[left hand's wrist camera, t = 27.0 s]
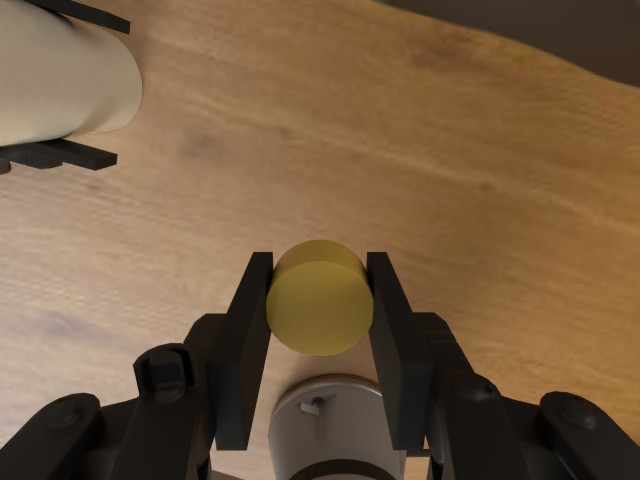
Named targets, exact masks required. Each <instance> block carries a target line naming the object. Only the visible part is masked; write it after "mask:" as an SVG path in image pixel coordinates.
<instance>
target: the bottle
mask: <svg viewBox="0 0 640 480" xmlns="http://www.w3.org/2000/svg"><path fill="white" fill-rule="evenodd" d="M141 99H142V79H141V74H140V71H139V68H138V66H137V63H136V61H135V59H134V57H133V56H132V54H131V52H130V51H129V50H128V48H127V47H126V46H125V45H124V44H123V43H122V42H121V41H120V40H119V39H118V38H117V37H116V36H114V35H113V34H112V33H110V32H109V31H107V30H105V29H103V28H101V27H98V26H96V25H93V24H90V23H87V22H84V21H81V20H79V19H76V18H73V17H70V16H67V15H64V14H61V13H59V12H55V11H53V10H50V9H47V8H44V7H41V6H38V5H35V4H32V3H30V2H27V1H24V0H0V147H2V146H10V145H17V144H24V143H32V142H39V141H46V140H53V139H61V138H68V137H75V136H83V135H90V134H97V133H105V132H111V131H115V130H118V129H120V128H122V127H124V126H125V125H126V124H128V123H129V122H130V121H131V120H132V119H133V117H134V116H135V115H136V113H137V111H138V109H139V106H140V104H141Z"/></svg>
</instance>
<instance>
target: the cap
mask: <svg viewBox="0 0 640 480" xmlns="http://www.w3.org/2000/svg"><path fill="white" fill-rule="evenodd" d="M373 305H374V298H373V295H372V291H371V287H370V284H369V280H368V276H367V273H366V269H365V267H364V265H363V263H362V261H361V260H360V259H359V257H358V256H357V255H356V254H355V253H354V252H353V251H352V250H350V249H349V248H347V247H346V246H344V245H342V244H339V243H337V242H333V241H329V240H312V241H307V242H303V243H301V244H298V245H296V246H294V247H292V248H291V249H290V250H288V251H287V252H286V253H285V254H284V255H283V256H282V257H281V258H280V260H279V261H278V263H277V264H276V266H275V269H274V271H273V275H272V279H271V282H270V286H269V290H268V293H267V297H266V309H267V322H268V325H269V327H270V329H271V331H272V332H273V334H274V335H275V336H276V338H277V339H278V340H279V341H280V342H281V343H283V344H284V345H285V346H287V347H288V348H290V349H292V350H294V351H296V352H299V353H302V354H306V355H310V356H329V355H334V354H338V353H341V352H344V351H346V350H348V349H350V348H351V347H353V346H354V345H356V344H357V343H358V342H359V341H361V339H362V338H363V337H364V336H365V335H366V333H367V332H368V330H369V329H370V327H371V325H372V321H373Z"/></svg>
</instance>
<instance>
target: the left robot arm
mask: <svg viewBox="0 0 640 480" xmlns="http://www.w3.org/2000/svg"><path fill="white" fill-rule="evenodd" d="M273 271H274V269H273V252H253V254H252V257H251V259H250V261H249V263H248V266H247V268H246V270H245V273H244V275H243V277H242V279H241V282H240V284H239V286H238V288H237V291H236V293H235V295H234V298H233V300H232V302H231V304H230V307H229V309H228V311H227V314H205V315H203V316H202V317H201V318H200V319H198V320H197V321H196V322H194V324H193V326H192V328H191V329H190V331H189V333H188V335H187V336H186V338H185V340H184V342H183V344H182V343H168V344H164V345H159V346H157V347H154V348H152V349H150V350H147V351H146V352H145V353H143V354H142V355H141V356H139V357H138V358H137V360H136V361H135V363H134V364H133V368H134V372H135V377H136V381H137V386H138V390H139V397H137V398H134V399H131V400H128V401H124V402H120V403H116V404H112V405H108V406H103V407H101V405H100V401H99V399H98V398H97V397H96V396H95V395H92V394H88V393H77V394H71V395H68V396H65V397H62V398H59V399H57V400H55V401H53V402H51V403H49V404H47V405H46V406H44V407H43V408H42V409H41V410H39V411H38V412H37V413H36V414H35V415H34V416H33V417H32V418H31V419H30V420H29V421H28V422H27V423H26V424H25V425H24V426H23V427H22V428H21V429H20V430H19V431H18V432H17V433H16V434H15V435H14V436H13V437H12V438H11V439H10V440H9V441H8V442H7V443H6V444H5V445H4V446H3V447H2V448H1V449H0V480H243V479H240V478H237V477H234V476H230V475H227V474H224V473H221V472H218V471H214V470H211V460H210V453H209V452H210V449H211V446H212V443H213V440H214V436H215V441H216V449H217V450H247V446H248V441H249V436H250V432H251V427H252V422H253V417H254V413H255V408H256V403H257V398H258V393H259V389H260V384H261V379H262V374H263V370H264V365H265V360H266V355H267V350H268V346H269V341H270V336H271V329H270V327H269V325H268V322H267V309H266V297H267V293H268V290H269V286H270V282H271V279H272V275H273ZM366 273H367V276H368V280H369V284H370V287H371V291H372V295H373V298H374V305H373V321H372V325H371V327H370V329H369V330H368V332H369V337H370V342H371V347H372V352H373V356H374V361H375V366H376V371H377V375H378V380H379V385H378V384H377V383H375V382H373V381H370V380H368V379H365V378H362V377H358V376H353V375H344V374H334V375H324V376H319V377H315V378H312V379H309V380H307V381H304V382H302V383H300V384H298V385H296V386H295V387H293V388H292V389H290V390H289V391H288V392H287V393H286V394H285V395H284V396H283V397H282V398H281V399H280V400H279V402H278V403H277V405H276V406H275V408H274V410H273V413H272V416H271V421H270V428H269V436H268V438H269V449H270V453H271V458H272V463H273V468H274V472H275V477H276V480H404V471H405V462H406V457H430V460H429V467H428V473H427V480H640V447H639V446H638V445H637V444H636V443H635V442H634V441H633V440H632V439H631V438H630V437H629V436H628V435H627V434H626V433H625V432H624V431H623V430H622V429H621V428H620V427H619V426H618V425H617V424H616V423H615V422H614V421H613V420H612V419H611V418H610V417H609V416H608V415H607V414H606V413H605V412H604V411H603V410H602V409H600V408H599V407H598V406H597V405H595V404H594V403H592V402H590V401H588V400H586V399H585V398H583V397H580V396H577V395H574V394H571V393H568V392H558V391H554V392H550V393H546V394H545V395H544V396H543V397H542V398H541V400H540V404H539V405H534V404H530V403H526V402H522V401H517V400H513V399H510V398H507V397H504V396H502V395H501V394H500V392H499V391H498V389H497V387H496V386H495V385H494V384H493V383H492V382H490V381H489V380H488V379H487V378H485V377H483V376H481V375H479V374H477V373H475V372H474V370H473V369H472V367H471V365H470V363H469V362H468V360H467V358H466V356H465V355H464V353H463V351H462V349H461V348H460V346H459V344H458V343H457V342H456V339H455V337H454V335H453V334H452V332H451V330H450V328H449V327H448V325H447V323H446V321H444V320H443V319H442V318H441V317H439V316H438V315H437V314H435V313H434V312H412V310H411V307H410V305H409V303H408V300H407V298H406V296H405V294H404V291H403V289H402V287H401V284H400V282H399V280H398V278H397V275H396V273H395V271H394V269H393V266H392V264H391V262H390V259H389V257H388V255H387V253H386V252H367V265H366ZM425 435H426V439H427V442H428V445H429V448H430V449H423V447H424V439H425Z"/></svg>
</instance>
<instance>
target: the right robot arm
mask: <svg viewBox="0 0 640 480" xmlns="http://www.w3.org/2000/svg"><path fill="white" fill-rule="evenodd" d="M24 1H27V2H30V3H32V4H35V5H38V6H41V7H44V8H47V9H50V10H53V11H55V12H59V13H62V14H65V15H68V16H71V17H74V18H78V19H81V20H84V21H87V22H90V23H93V24H97V25H100V26H103V27H106V28H109V29H113V30H116V31H119V32H122V33H125V34H128V35H129V32H130V22H129V21H127V20H124V19H122V18H120V17H117V16H115V15H113V14H110V13H108V12H105V11H102V10H99V9H96V8H93V7H89V6H86V5H83V4H80V3H77V2H74V1H71V0H24ZM10 161H12V162H16V163H19V164H23V165H27V166H30V167H34V168H38V169H49V168H53V167H57V166H62V162H66V163H69V164H73V165H77V166H80V167H84V168H87V169H91V170H95V171H96V170H99V169H103V168H106V167H109V166H113V165H116V164H117V154H115V153H111V152H107V151H104V150H100V149H97V148H93V147H90V146H86V145H83V144H79V143H76V142H72V141H69V140H65V139H53V140H46V141H39V142H32V143H24V144H17V145H10V146H2V147H0V175H2V174H7V173H9V172H10V171H11V164H10Z"/></svg>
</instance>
